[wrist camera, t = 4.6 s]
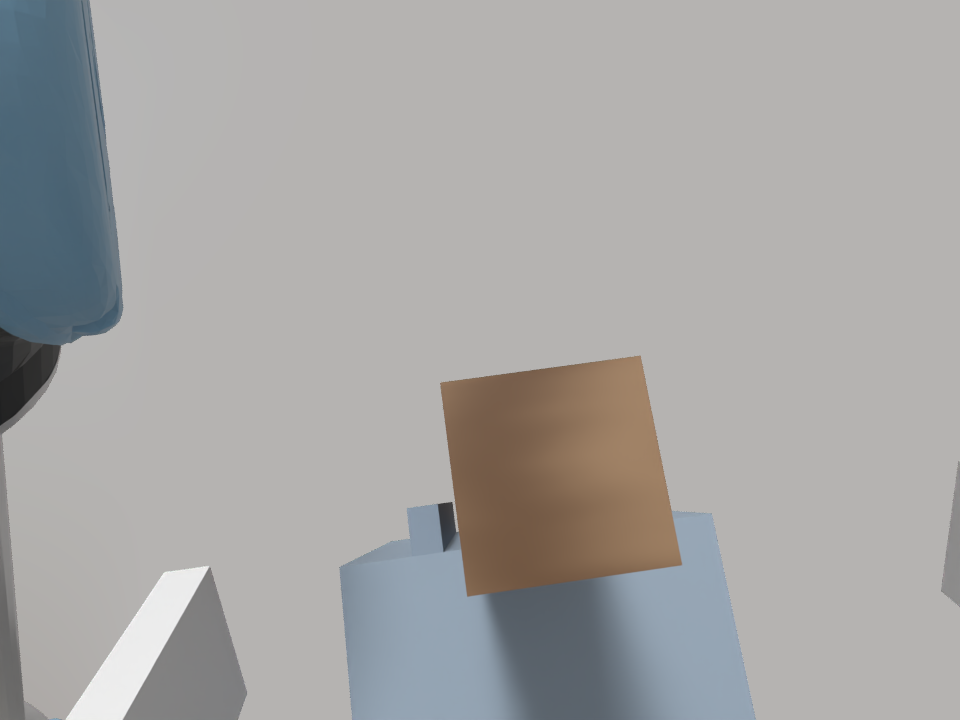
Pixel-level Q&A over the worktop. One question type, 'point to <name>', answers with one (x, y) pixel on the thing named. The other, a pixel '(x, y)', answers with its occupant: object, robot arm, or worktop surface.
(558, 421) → the brown block
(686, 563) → the tall blue prism
